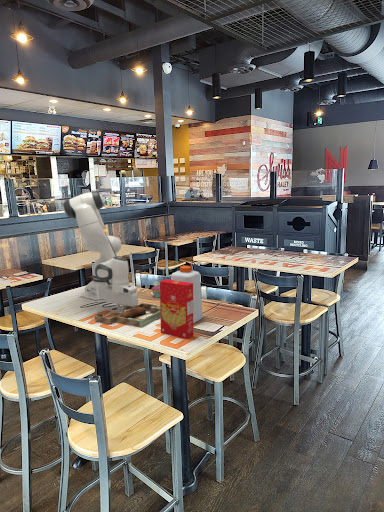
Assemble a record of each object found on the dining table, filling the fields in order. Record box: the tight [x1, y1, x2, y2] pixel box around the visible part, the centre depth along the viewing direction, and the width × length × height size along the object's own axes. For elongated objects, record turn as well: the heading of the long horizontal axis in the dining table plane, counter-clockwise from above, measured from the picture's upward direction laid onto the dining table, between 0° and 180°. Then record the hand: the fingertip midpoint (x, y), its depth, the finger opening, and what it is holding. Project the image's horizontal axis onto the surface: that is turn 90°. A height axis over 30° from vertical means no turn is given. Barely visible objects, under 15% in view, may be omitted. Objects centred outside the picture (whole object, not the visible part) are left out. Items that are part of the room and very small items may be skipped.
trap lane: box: [94, 302, 161, 328], centre depth 204 cm, size 28×30×3 cm
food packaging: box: [159, 278, 194, 340], centre depth 178 cm, size 15×5×25 cm, turn 58°
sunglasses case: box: [115, 307, 147, 318], centre depth 205 cm, size 18×7×7 cm
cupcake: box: [150, 277, 160, 298], centre depth 242 cm, size 9×8×12 cm
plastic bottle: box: [170, 265, 204, 325], centre depth 198 cm, size 15×15×28 cm
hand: (121, 312), depth 207 cm, fingers closed
